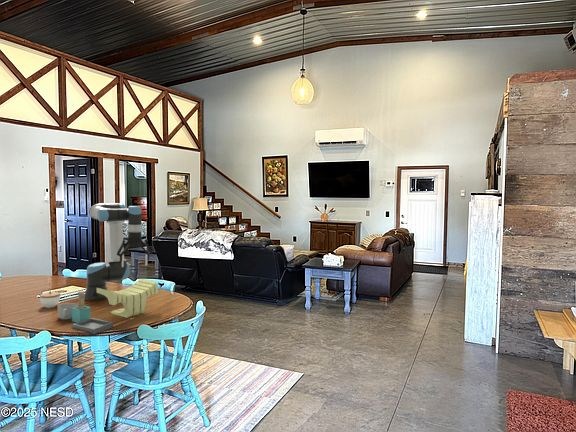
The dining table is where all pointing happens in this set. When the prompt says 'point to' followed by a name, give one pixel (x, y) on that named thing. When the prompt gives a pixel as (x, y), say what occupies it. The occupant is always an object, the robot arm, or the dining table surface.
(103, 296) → the robot arm
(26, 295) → the dining table surface
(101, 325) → the tray
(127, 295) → the slatted curved stool
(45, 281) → the dining table surface
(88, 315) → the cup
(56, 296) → the lidded jar
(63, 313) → the teacup
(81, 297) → the dowel
